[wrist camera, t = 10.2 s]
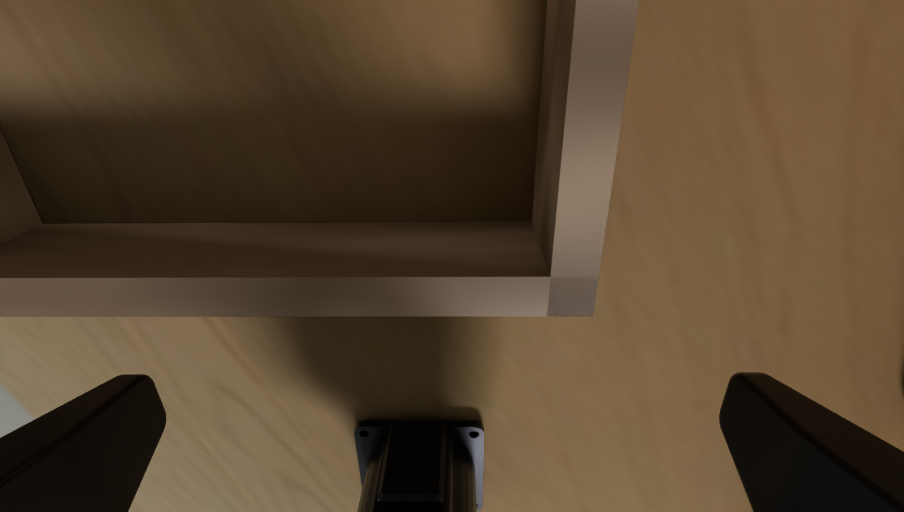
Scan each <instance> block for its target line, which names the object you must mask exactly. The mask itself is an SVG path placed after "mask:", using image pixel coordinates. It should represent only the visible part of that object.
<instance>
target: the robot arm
mask: <svg viewBox="0 0 904 512" xmlns="http://www.w3.org/2000/svg"><path fill="white" fill-rule="evenodd" d="M719 421H720V427H721V430H722V433H723V435H724V438H725V440H726V443H727V445H728V448H729V450H730V453H731V456H732V458H733V461H734V463H735V466H736V468H737V471H738V474H739V476H740V479H741V481H742V484H743V486H744V489H745V492H746V494H747V497H748V499H749V502H750V504H751V507H752V510H753V512H904V452H903V451H901V450H900V449H898V448H896V447H894V446H892V445H891V444H889V443H887V442H885V441H884V440H882V439H880V438H878V437H877V436H875V435H873V434H871V433H870V432H868V431H866V430H864V429H862V428H861V427H859V426H857V425H855V424H854V423H852V422H850V421H848V420H847V419H845V418H843V417H841V416H839V415H838V414H836V413H834V412H832V411H831V410H829V409H827V408H825V407H824V406H822V405H820V404H818V403H817V402H815V401H813V400H811V399H809V398H808V397H806V396H804V395H802V394H801V393H799V392H797V391H795V390H794V389H792V388H790V387H788V386H787V385H785V384H783V383H781V382H779V381H778V380H776V379H774V378H772V377H771V376H769V375H767V374H764V373H759V372H739V373H736V374H734V375H733V376H732V377H731V378H730V381H729V384H728V387H727V390H726V393H725V396H724V400H723V403H722V406H721V409H720V414H719ZM165 424H166V412H165V409H164V407H163V404H162V402H161V399H160V397H159V394H158V391H157V389H156V386H155V384H154V382H153V380H152V379H151V378H150V377H149V376H147V375H143V374H136V375H120V376H117V377H115V378H113V379H111V380H109V381H107V382H105V383H103V384H101V385H99V386H98V387H96V388H94V389H92V390H90V391H88V392H86V393H84V394H82V395H81V396H79V397H77V398H75V399H73V400H71V401H69V402H67V403H65V404H63V405H62V406H60V407H58V408H56V409H54V410H52V411H50V412H48V413H46V414H45V415H43V416H41V417H39V418H37V419H35V420H33V421H31V422H29V423H28V424H26V425H24V426H22V427H20V428H18V429H16V430H14V431H13V432H11V433H9V434H7V435H5V436H3V437H1V438H0V512H128V510H129V508H130V506H131V504H132V501H133V499H134V497H135V495H136V492H137V490H138V488H139V486H140V483H141V481H142V479H143V476H144V474H145V472H146V470H147V467H148V465H149V463H150V461H151V458H152V456H153V454H154V451H155V449H156V447H157V445H158V442H159V440H160V438H161V436H162V433H163V431H164V428H165ZM363 430H366V431H363ZM472 431H476V432H472ZM354 435H355V441H356V448H357V454H358V461H359V468H360V474H361V481H362V487H363V488H362V493H361V498H360V502H359V507H358V512H477V511H479V510H480V509H481V508H482V504H483V460H484V427H483V425H482V424H481V423H480V422H477V421H386V420H364V421H360V422H358V423H357V425H356V428H355V432H354Z"/></svg>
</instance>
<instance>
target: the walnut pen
mask: <svg viewBox="0 0 904 512" xmlns="http://www.w3.org/2000/svg"><path fill="white" fill-rule="evenodd" d="M638 4H639V0H547V6H546V21H545V36H544V51H543V65H542V80H541V95H540V110H539V124H538V139H537V154H536V169H535V183H534V198H533V213H532V221H444V222H259V223H75V224H43V223H42V221H41V219H40V217H39V214H38V212H37V210H36V208H35V205H34V203H33V201H32V199H31V196H30V194H29V192H28V190H27V187H26V185H25V183H24V181H23V178H22V176H21V174H20V172H19V170H18V167H17V165H16V163H15V161H14V158H13V156H12V154H11V152H10V149H9V147H8V145H7V143H6V140H5V138H4V136H3V134H2V131H1V129H0V317H426V316H593V311H594V305H595V298H596V291H597V284H598V277H599V270H600V264H601V257H602V250H603V243H604V236H605V229H606V222H607V216H608V209H609V202H610V195H611V188H612V181H613V175H614V168H615V161H616V154H617V147H618V140H619V134H620V127H621V120H622V113H623V106H624V99H625V92H626V86H627V79H628V72H629V65H630V58H631V51H632V45H633V38H634V31H635V24H636V17H637V10H638Z"/></svg>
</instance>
